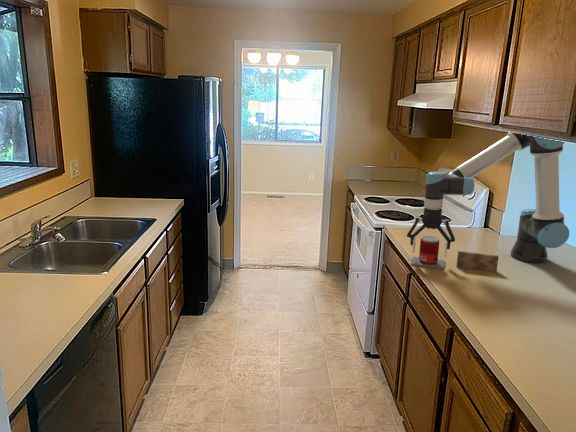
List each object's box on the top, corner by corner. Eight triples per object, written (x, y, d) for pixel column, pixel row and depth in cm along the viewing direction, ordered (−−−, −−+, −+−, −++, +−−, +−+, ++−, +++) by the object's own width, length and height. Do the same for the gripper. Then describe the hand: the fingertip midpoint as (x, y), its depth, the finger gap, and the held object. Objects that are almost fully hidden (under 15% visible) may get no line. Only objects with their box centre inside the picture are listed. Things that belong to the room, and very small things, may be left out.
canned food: (438, 265, 190) (440, 241, 188) (419, 264, 192) (421, 240, 189) (436, 259, 198) (438, 236, 195) (418, 258, 199) (419, 235, 197)
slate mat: (444, 262, 197) (445, 260, 197) (443, 269, 188) (443, 267, 188) (413, 258, 202) (413, 256, 202) (410, 265, 193) (410, 263, 193)
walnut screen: (496, 270, 187) (498, 255, 185) (496, 272, 186) (498, 256, 184) (456, 265, 193) (458, 250, 191) (456, 266, 191) (458, 251, 190)
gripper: (464, 208, 187) (459, 254, 193) (404, 203, 197) (401, 248, 202) (463, 212, 181) (458, 260, 186) (402, 207, 190) (399, 253, 195)
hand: (429, 254), depth 194 cm, fingers open, 13 cm apart
